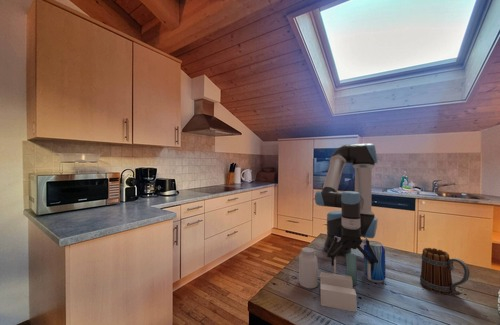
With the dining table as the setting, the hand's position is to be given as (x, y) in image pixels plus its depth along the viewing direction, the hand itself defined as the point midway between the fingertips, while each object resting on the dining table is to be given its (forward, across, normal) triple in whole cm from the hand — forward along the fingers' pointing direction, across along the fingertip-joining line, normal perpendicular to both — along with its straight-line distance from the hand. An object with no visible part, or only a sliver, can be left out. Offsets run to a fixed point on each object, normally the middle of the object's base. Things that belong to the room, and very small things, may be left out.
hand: (351, 275), depth 92 cm
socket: (+3, -7, -13) cm, 15 cm away
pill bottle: (+3, -18, -6) cm, 19 cm away
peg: (+3, 0, 0) cm, 3 cm away
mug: (+4, +35, +5) cm, 35 cm away
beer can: (+3, +10, +7) cm, 13 cm away
